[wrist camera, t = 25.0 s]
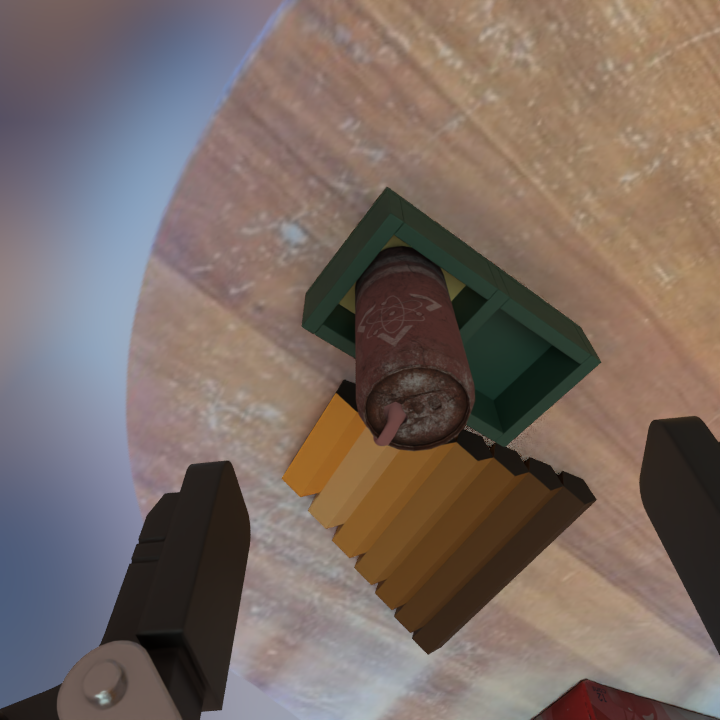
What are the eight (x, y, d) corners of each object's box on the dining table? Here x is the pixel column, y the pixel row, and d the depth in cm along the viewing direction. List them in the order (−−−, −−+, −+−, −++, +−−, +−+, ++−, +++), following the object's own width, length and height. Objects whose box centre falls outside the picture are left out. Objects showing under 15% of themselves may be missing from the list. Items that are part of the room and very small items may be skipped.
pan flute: (438, 628, 67) (589, 481, 54) (442, 658, 64) (601, 511, 52) (221, 561, 60) (336, 376, 48) (214, 591, 57) (335, 403, 45)
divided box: (305, 293, 44) (300, 327, 40) (386, 186, 39) (390, 212, 36) (492, 409, 50) (504, 447, 46) (580, 327, 45) (601, 362, 42)
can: (338, 303, 43) (332, 435, 32) (383, 227, 40) (395, 343, 28) (412, 337, 45) (433, 475, 33) (461, 267, 42) (502, 392, 30)
